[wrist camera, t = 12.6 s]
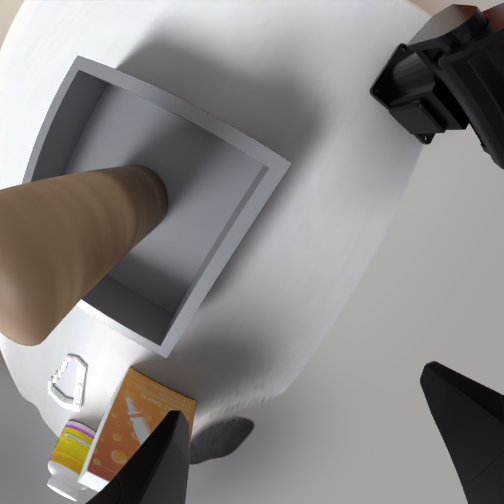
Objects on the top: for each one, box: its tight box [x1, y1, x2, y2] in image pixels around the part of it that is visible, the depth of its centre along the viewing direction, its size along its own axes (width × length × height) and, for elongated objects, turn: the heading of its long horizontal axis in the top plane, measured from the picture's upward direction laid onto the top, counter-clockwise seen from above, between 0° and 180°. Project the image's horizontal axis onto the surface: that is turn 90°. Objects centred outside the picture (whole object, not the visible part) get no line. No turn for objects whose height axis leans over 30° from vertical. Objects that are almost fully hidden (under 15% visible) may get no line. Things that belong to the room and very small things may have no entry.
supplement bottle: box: [47, 421, 96, 501], centre depth 23 cm, size 7×7×13 cm
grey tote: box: [22, 56, 292, 358], centre depth 16 cm, size 15×15×5 cm
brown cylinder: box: [0, 165, 168, 346], centre depth 11 cm, size 5×5×13 cm
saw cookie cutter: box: [48, 355, 87, 412], centre depth 25 cm, size 13×5×2 cm, turn 151°
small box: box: [78, 367, 196, 492], centre depth 19 cm, size 8×6×13 cm
